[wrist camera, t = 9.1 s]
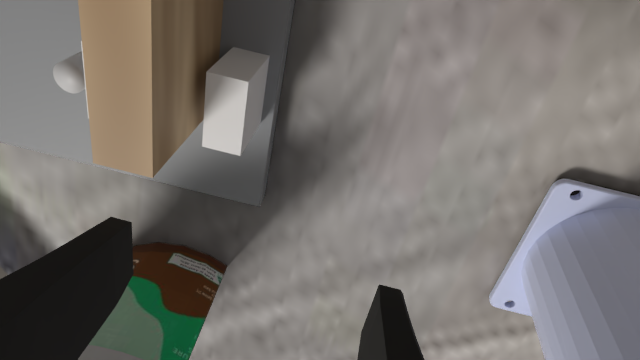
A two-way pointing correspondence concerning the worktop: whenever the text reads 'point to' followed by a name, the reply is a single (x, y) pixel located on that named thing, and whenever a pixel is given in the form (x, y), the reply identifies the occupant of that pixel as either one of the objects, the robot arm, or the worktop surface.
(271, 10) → the board
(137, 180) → the worktop surface
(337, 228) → the worktop surface
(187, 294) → the food container
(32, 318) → the robot arm
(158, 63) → the oak block
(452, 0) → the worktop surface
